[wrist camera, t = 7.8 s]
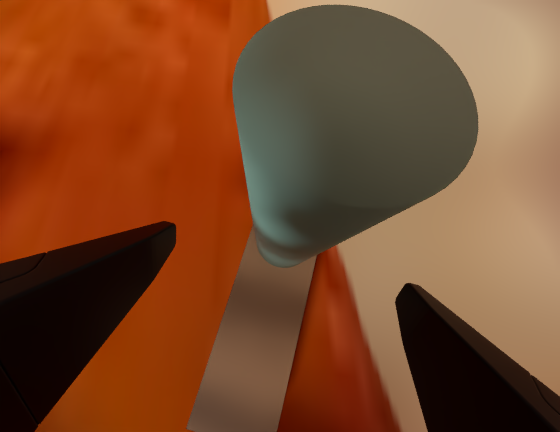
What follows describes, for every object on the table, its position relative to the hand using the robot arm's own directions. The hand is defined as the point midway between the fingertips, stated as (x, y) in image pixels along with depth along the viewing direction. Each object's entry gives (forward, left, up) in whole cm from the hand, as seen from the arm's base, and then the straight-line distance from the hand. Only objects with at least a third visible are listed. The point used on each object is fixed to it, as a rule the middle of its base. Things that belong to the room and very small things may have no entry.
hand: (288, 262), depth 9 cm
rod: (+2, 0, -7) cm, 7 cm away
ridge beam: (-3, 0, -10) cm, 10 cm away
